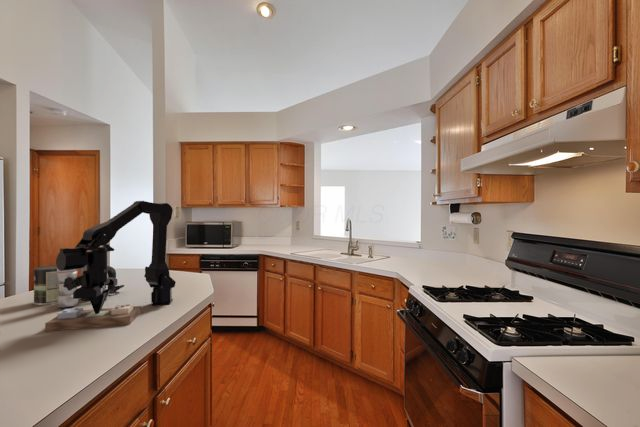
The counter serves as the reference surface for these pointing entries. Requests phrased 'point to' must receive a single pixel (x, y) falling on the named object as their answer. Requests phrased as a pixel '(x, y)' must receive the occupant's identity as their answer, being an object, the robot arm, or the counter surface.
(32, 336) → the counter surface
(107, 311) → the tile
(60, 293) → the plastic bottle
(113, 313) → the tile
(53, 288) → the coffee can
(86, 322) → the board
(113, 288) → the milk frother
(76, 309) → the tile
